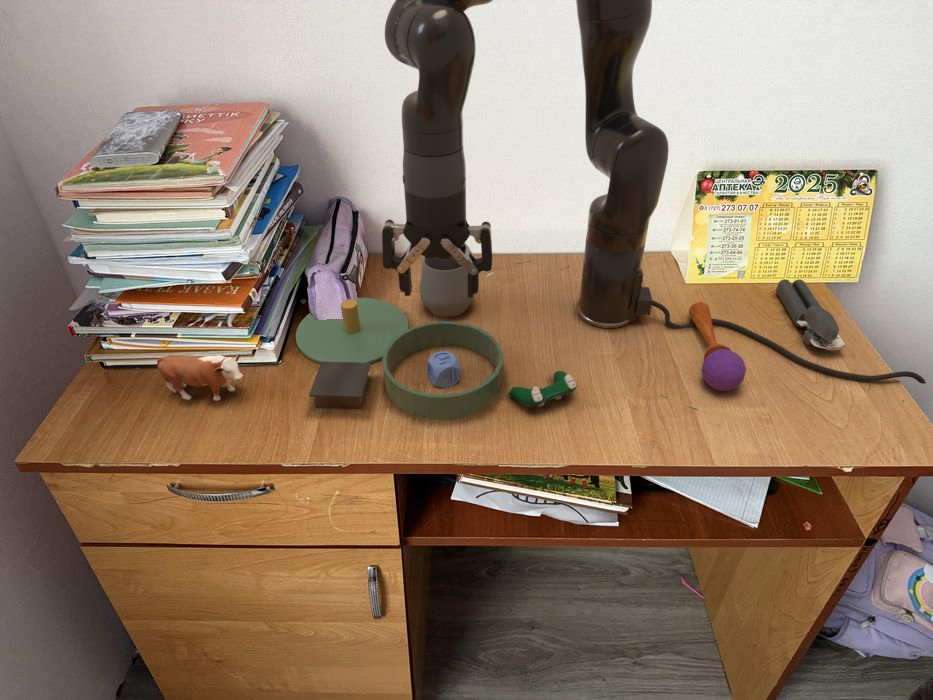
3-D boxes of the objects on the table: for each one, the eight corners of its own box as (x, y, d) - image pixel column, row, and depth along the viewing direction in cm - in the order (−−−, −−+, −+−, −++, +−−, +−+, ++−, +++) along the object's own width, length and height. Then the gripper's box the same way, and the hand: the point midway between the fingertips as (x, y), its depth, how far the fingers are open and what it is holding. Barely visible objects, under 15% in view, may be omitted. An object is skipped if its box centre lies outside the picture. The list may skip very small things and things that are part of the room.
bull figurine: (247, 412, 97) (234, 369, 92) (163, 400, 99) (145, 357, 94) (260, 392, 100) (249, 349, 95) (178, 381, 102) (163, 339, 97)
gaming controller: (514, 414, 98) (531, 411, 92) (505, 389, 98) (522, 385, 93) (567, 394, 101) (586, 389, 96) (558, 370, 102) (577, 364, 96)
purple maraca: (723, 298, 110) (757, 369, 94) (709, 328, 114) (740, 402, 97) (688, 291, 110) (716, 361, 94) (675, 322, 114) (700, 394, 97)
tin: (503, 347, 108) (504, 322, 105) (501, 424, 94) (501, 399, 91) (394, 344, 109) (392, 320, 106) (376, 420, 95) (373, 395, 92)
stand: (375, 379, 102) (372, 361, 100) (365, 416, 96) (362, 397, 94) (323, 377, 102) (319, 359, 100) (310, 414, 96) (306, 396, 94)
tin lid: (415, 304, 118) (413, 274, 114) (401, 372, 103) (397, 340, 99) (312, 302, 119) (306, 272, 115) (283, 368, 104) (275, 337, 100)
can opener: (844, 359, 104) (858, 326, 100) (811, 359, 104) (824, 326, 100) (801, 291, 119) (811, 260, 115) (771, 291, 119) (781, 260, 115)
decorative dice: (436, 391, 99) (435, 370, 97) (426, 375, 102) (425, 355, 100) (461, 383, 100) (461, 363, 98) (450, 368, 103) (450, 348, 101)
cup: (464, 289, 121) (463, 240, 115) (483, 317, 114) (483, 267, 108) (413, 300, 118) (410, 251, 112) (430, 330, 112) (427, 279, 105)
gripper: (494, 170, 84) (492, 280, 94) (381, 168, 85) (391, 277, 95) (492, 196, 78) (490, 311, 88) (371, 194, 79) (383, 307, 89)
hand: (439, 293), depth 92 cm, fingers open, 8 cm apart
